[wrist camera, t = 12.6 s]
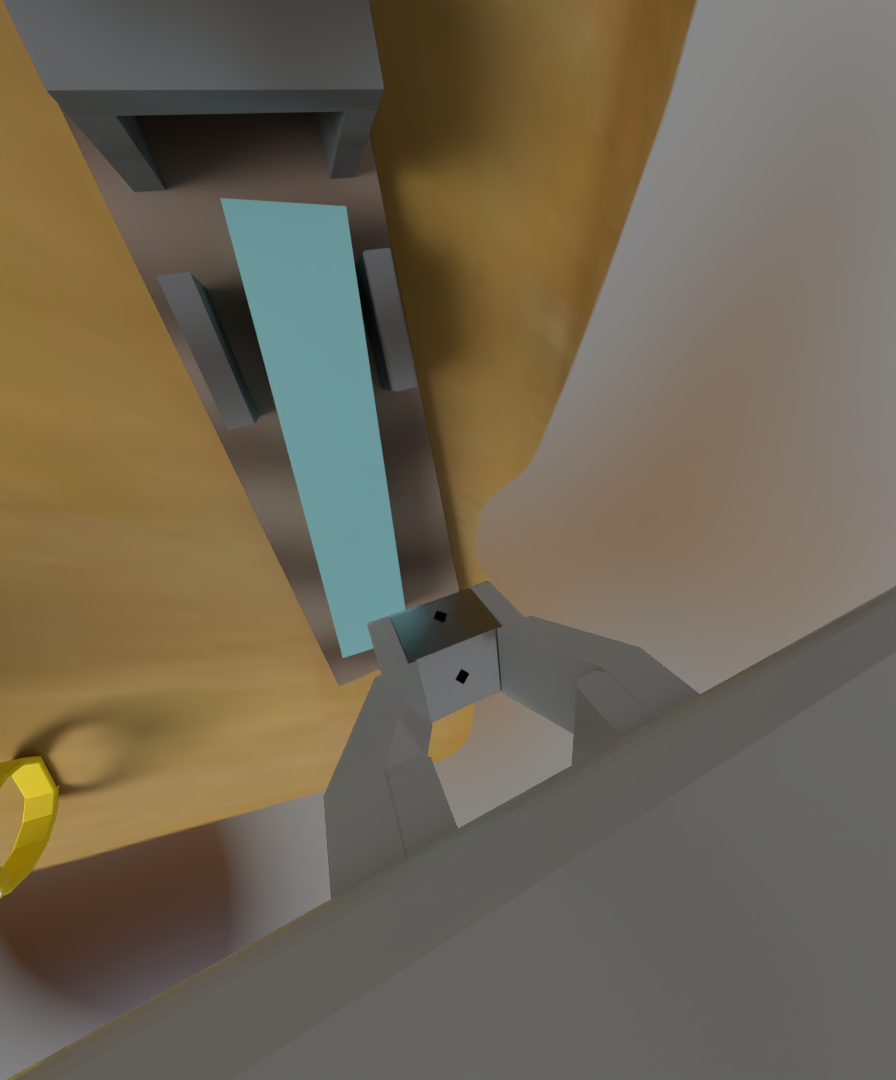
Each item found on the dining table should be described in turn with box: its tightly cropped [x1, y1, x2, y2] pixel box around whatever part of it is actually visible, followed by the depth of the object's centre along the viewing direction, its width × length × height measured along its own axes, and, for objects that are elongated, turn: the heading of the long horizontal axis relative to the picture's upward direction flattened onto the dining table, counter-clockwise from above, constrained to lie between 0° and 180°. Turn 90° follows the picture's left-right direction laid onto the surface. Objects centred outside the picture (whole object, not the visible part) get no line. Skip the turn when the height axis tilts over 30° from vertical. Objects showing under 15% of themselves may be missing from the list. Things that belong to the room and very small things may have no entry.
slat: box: [220, 198, 405, 658], centre depth 18 cm, size 20×4×3 cm, turn 4°
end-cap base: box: [3, 0, 459, 686], centre depth 17 cm, size 32×10×6 cm, turn 11°
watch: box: [0, 756, 60, 898], centre depth 18 cm, size 6×3×6 cm, turn 175°
